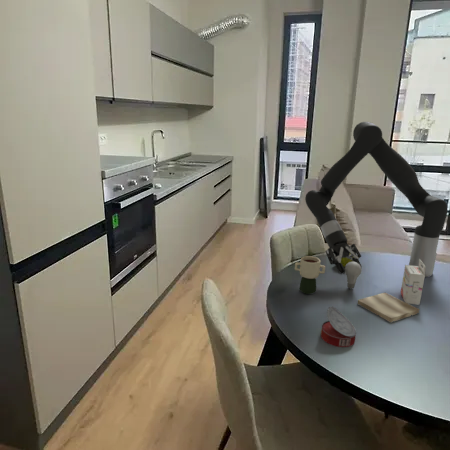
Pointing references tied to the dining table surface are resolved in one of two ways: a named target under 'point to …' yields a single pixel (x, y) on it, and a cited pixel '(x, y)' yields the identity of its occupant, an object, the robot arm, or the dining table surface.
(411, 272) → the ink cartridge box
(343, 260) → the apple
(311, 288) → the character mug
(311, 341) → the dining table surface
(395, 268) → the dining table surface
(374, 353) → the dining table surface
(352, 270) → the lightbulb
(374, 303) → the birch board
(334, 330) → the canned food
